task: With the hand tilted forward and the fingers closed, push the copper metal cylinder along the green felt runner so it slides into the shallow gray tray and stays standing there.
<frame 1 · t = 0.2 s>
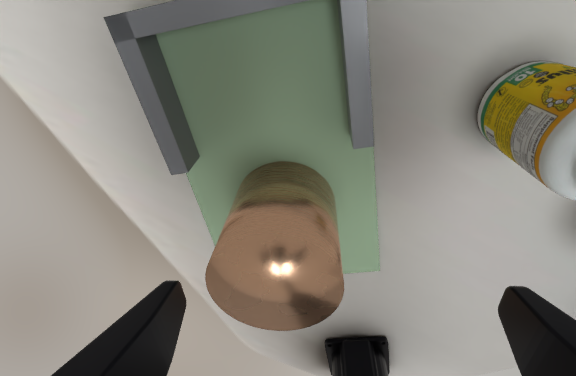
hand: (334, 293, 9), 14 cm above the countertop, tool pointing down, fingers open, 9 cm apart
supplement bottle: (519, 104, 19), on the countertop
copper metal cylinder: (285, 205, 24), point 1 cm above the countertop, touching green
shallow gray tray: (258, 87, 19), resting on green
green: (277, 165, 23), on the countertop
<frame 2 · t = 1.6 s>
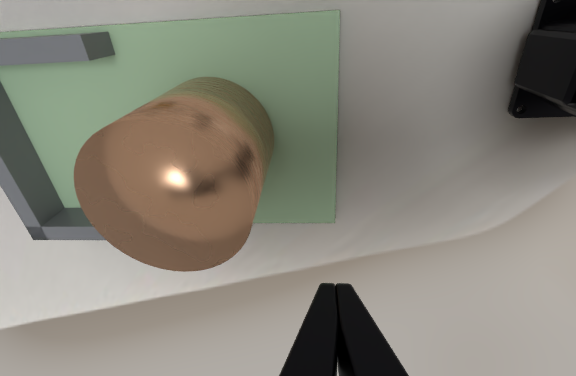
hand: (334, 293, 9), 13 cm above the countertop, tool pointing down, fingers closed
copper metal cylinder: (216, 137, 20), point 1 cm above the countertop, touching green
shallow gray tray: (86, 142, 21), resting on green
green: (172, 136, 21), on the countertop
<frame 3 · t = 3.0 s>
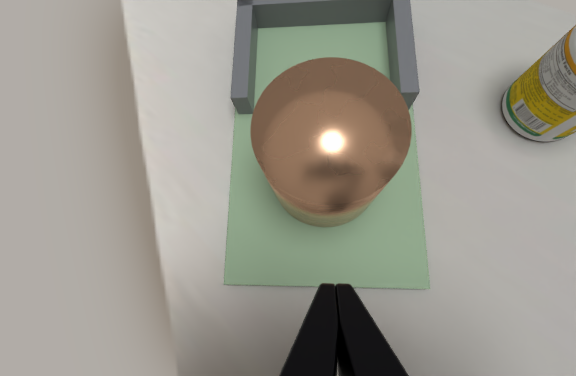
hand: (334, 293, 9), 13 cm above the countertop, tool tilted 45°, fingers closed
supplement bottle: (536, 111, 23), on the countertop
copper metal cylinder: (324, 175, 22), point 1 cm above the countertop, touching green
shallow gray tray: (321, 66, 25), resting on green
green: (321, 136, 24), on the countertop
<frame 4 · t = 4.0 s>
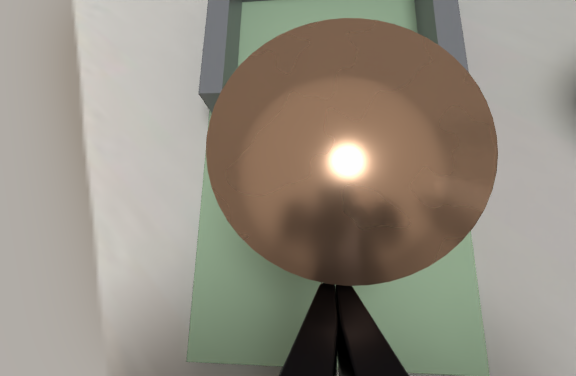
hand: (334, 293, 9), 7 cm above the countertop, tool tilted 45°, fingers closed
copper metal cylinder: (331, 200, 16), point 1 cm above the countertop, touching green, gripper
shallow gray tray: (326, 51, 18), resting on green
green: (327, 147, 17), on the countertop
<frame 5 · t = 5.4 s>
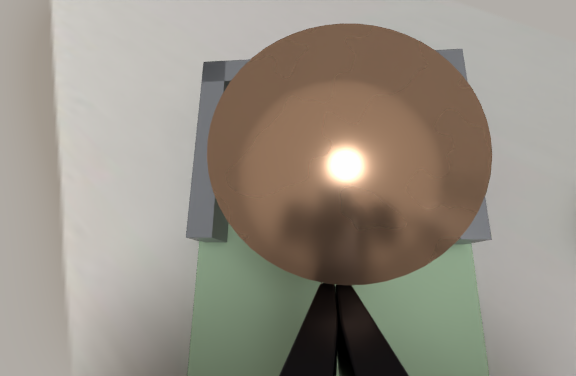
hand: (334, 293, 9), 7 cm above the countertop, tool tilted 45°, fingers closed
copper metal cylinder: (331, 202, 16), point 1 cm above the countertop, touching green, gripper
shallow gray tray: (328, 168, 17), resting on green
green: (329, 280, 16), on the countertop
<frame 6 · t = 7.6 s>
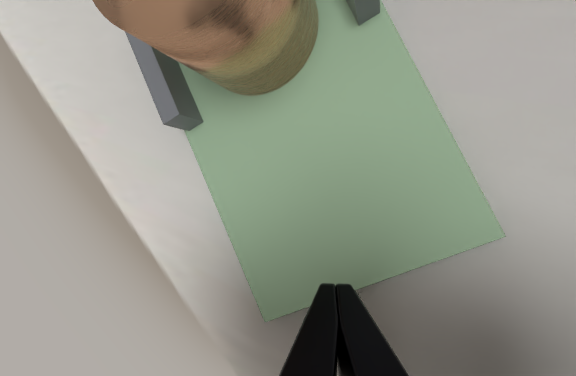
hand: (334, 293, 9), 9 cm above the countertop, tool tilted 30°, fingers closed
copper metal cylinder: (255, 31, 18), point 1 cm above the countertop, touching green
shallow gray tray: (247, 20, 18), resting on green
green: (290, 107, 18), on the countertop
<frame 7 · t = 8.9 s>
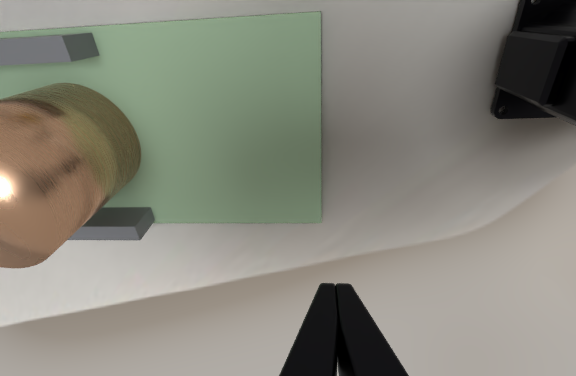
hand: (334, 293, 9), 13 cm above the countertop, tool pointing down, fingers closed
copper metal cylinder: (85, 140, 21), point 1 cm above the countertop, touching green
shallow gray tray: (72, 142, 21), resting on green
green: (158, 137, 21), on the countertop
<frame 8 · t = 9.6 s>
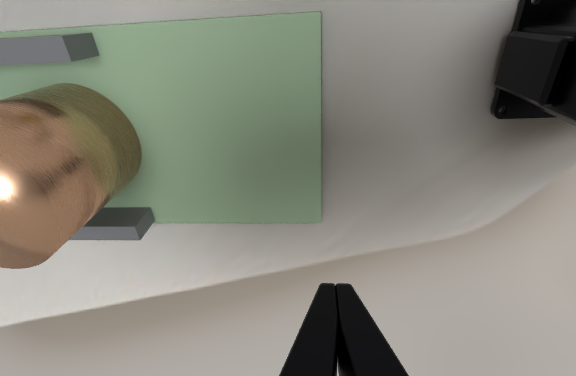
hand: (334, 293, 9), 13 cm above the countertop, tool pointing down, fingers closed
copper metal cylinder: (86, 141, 21), point 1 cm above the countertop, touching green
shallow gray tray: (72, 142, 21), resting on green
green: (158, 137, 21), on the countertop
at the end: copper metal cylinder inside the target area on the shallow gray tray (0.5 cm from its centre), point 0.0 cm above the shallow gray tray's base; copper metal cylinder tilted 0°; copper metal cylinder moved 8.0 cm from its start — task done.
